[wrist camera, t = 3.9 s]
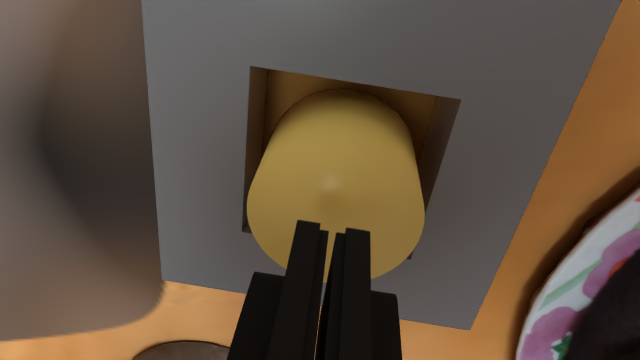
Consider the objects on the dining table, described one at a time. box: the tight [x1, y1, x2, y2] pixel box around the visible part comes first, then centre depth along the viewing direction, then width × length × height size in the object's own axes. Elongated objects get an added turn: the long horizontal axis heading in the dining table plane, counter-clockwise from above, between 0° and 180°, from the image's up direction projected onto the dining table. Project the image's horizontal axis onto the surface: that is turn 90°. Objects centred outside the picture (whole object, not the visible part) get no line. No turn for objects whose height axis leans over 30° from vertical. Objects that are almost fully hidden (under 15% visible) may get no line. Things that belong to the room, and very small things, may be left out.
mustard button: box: [247, 89, 425, 283], centre depth 14 cm, size 5×5×3 cm
